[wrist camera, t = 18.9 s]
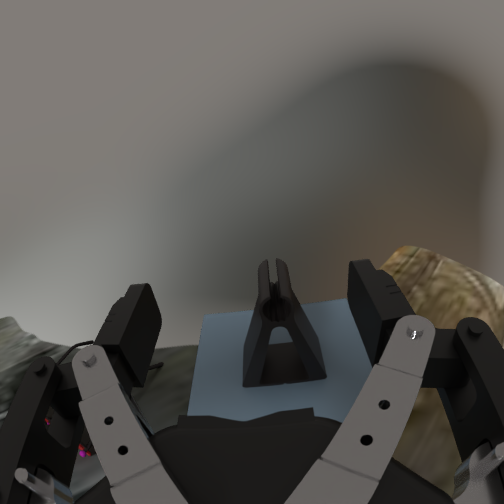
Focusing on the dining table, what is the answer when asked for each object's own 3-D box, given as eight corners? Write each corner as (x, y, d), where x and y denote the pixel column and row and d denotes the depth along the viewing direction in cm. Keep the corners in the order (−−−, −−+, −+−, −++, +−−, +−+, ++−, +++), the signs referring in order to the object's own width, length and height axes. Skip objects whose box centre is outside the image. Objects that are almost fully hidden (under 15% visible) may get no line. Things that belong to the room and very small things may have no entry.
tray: (185, 444, 26) (183, 442, 25) (205, 317, 43) (204, 314, 43) (389, 423, 24) (390, 420, 24) (346, 301, 42) (346, 298, 42)
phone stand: (318, 340, 35) (317, 253, 30) (326, 379, 30) (330, 289, 25) (243, 348, 36) (225, 263, 30) (242, 387, 31) (220, 301, 25)
